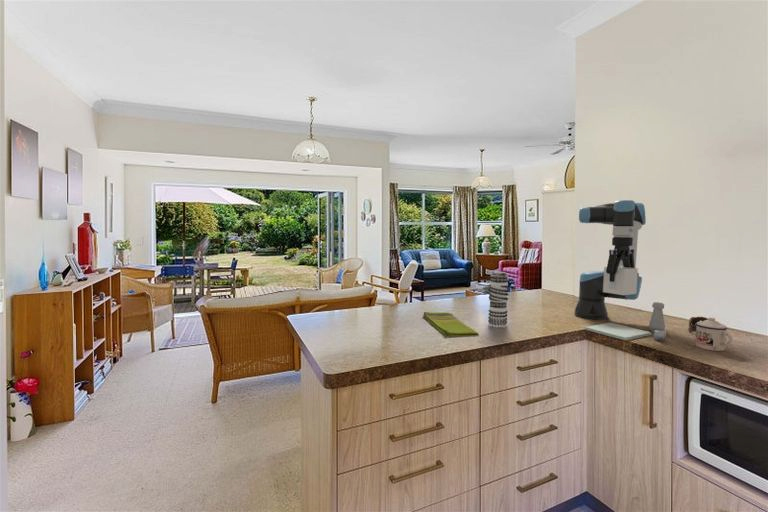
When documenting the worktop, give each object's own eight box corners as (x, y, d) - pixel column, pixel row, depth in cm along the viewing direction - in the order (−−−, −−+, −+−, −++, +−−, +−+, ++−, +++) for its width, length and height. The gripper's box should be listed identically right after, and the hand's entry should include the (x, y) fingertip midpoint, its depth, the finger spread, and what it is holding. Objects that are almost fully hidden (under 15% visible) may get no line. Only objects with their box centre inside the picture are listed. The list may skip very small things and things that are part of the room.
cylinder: (651, 339, 156) (652, 330, 156) (657, 338, 158) (657, 329, 158) (662, 342, 153) (663, 332, 153) (668, 341, 155) (668, 331, 154)
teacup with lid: (688, 344, 150) (690, 315, 149) (707, 343, 152) (709, 314, 151) (720, 354, 138) (723, 323, 138) (740, 353, 140) (743, 322, 139)
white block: (602, 291, 168) (604, 267, 167) (615, 290, 172) (616, 266, 171) (623, 295, 160) (625, 269, 159) (636, 293, 164) (637, 268, 163)
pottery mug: (723, 337, 162) (718, 322, 160) (700, 346, 164) (695, 330, 162) (702, 323, 173) (697, 308, 171) (680, 331, 175) (676, 317, 173)
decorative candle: (506, 323, 182) (508, 271, 180) (509, 328, 173) (511, 273, 171) (486, 322, 183) (488, 270, 181) (488, 327, 174) (490, 273, 172)
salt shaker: (663, 330, 170) (665, 302, 169) (666, 334, 165) (668, 304, 164) (647, 329, 172) (649, 301, 171) (650, 332, 167) (651, 303, 166)
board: (584, 329, 171) (585, 327, 171) (610, 325, 179) (610, 322, 179) (625, 340, 155) (625, 337, 155) (651, 335, 163) (651, 332, 163)
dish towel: (451, 316, 197) (451, 310, 196) (479, 336, 161) (479, 329, 161) (422, 317, 194) (422, 311, 194) (444, 338, 159) (444, 330, 159)
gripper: (615, 237, 156) (612, 291, 157) (646, 236, 165) (643, 288, 167) (598, 236, 162) (595, 288, 164) (628, 236, 172) (626, 285, 174)
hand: (619, 288), depth 166 cm, fingers closed on white block, 9 cm apart
